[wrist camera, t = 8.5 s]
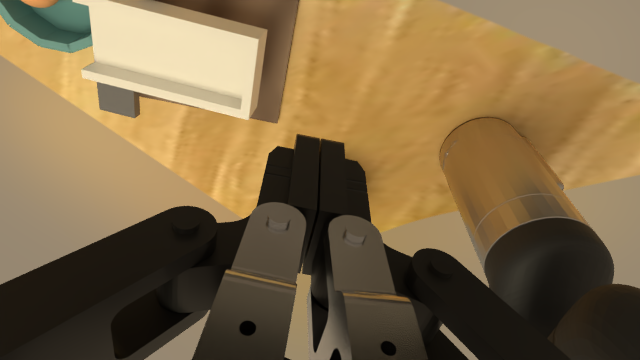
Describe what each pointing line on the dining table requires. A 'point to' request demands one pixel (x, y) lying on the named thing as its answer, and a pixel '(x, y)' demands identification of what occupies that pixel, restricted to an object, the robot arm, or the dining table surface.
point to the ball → (40, 3)
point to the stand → (279, 19)
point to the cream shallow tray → (173, 57)
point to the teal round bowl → (50, 24)
